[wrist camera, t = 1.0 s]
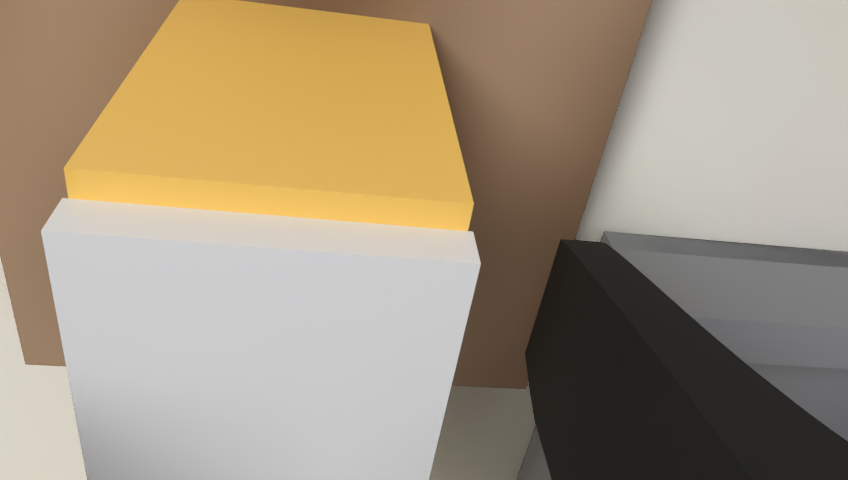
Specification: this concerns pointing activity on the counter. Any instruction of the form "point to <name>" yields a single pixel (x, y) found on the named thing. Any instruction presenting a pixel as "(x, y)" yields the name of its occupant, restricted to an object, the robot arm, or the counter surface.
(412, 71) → the yellow and white block
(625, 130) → the counter surface
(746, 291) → the parts tray
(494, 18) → the brown square tile
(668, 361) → the robot arm
